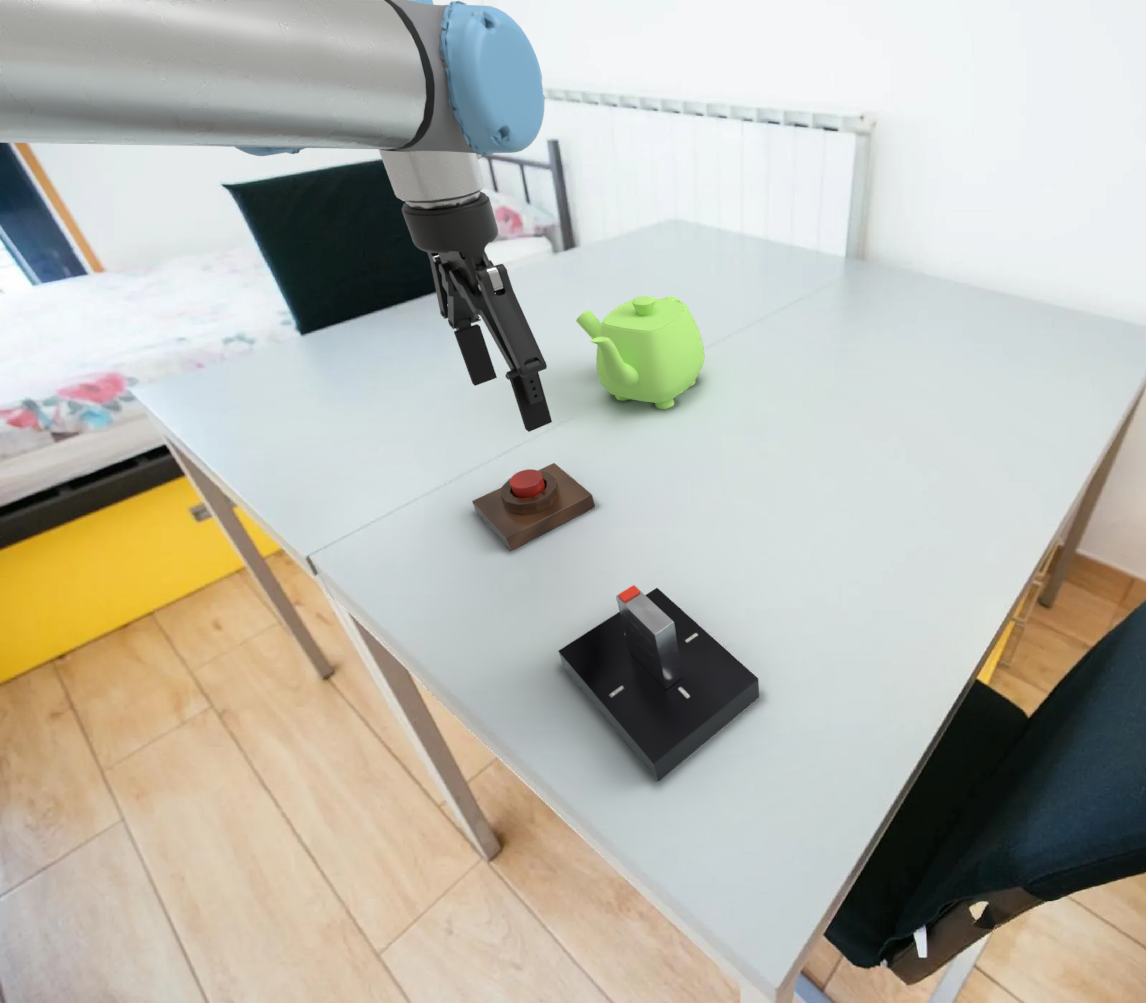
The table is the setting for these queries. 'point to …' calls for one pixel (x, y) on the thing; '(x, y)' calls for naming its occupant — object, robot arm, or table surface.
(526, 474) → the button
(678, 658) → the red-tipped metal bar
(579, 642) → the panel
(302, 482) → the table surface
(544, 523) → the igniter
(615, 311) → the teapot
